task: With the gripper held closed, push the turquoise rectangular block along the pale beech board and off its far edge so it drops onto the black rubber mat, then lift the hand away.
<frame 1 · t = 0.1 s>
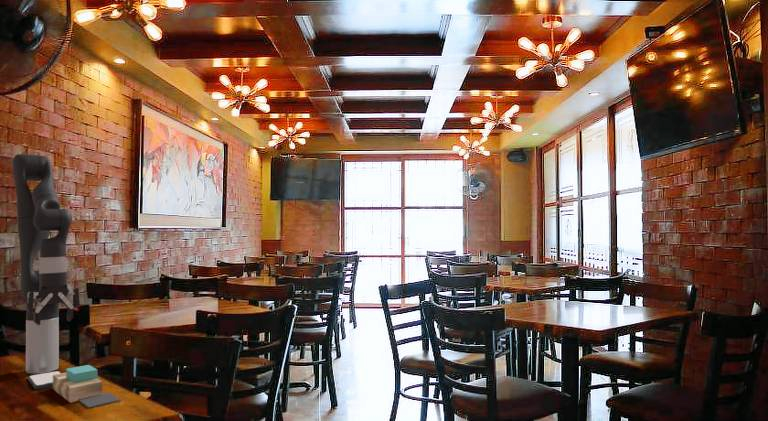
hand: (53, 322, 168), 17 cm above the table, tool pointing down, fingers open, 8 cm apart
turquoise rectangular block: (81, 378, 153), point 4 cm above the table, touching board
mat: (99, 400, 145), on the table
board: (76, 392, 153), on the table
phone case: (47, 383, 164), on the table
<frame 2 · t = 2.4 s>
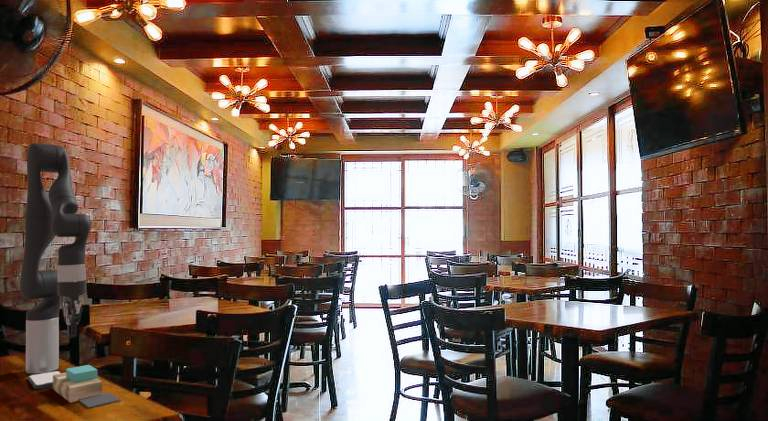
hand: (72, 337, 160), 14 cm above the table, tool pointing down, fingers closed
nothing on the table moved.
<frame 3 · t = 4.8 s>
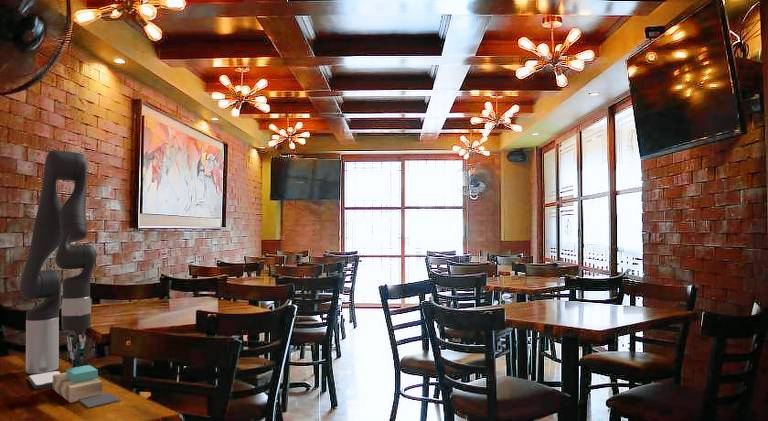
hand: (76, 371, 157), 5 cm above the table, tool pointing down, fingers closed
turquoise rectangular block: (81, 378, 153), point 4 cm above the table, touching board, gripper
everything else where it was.
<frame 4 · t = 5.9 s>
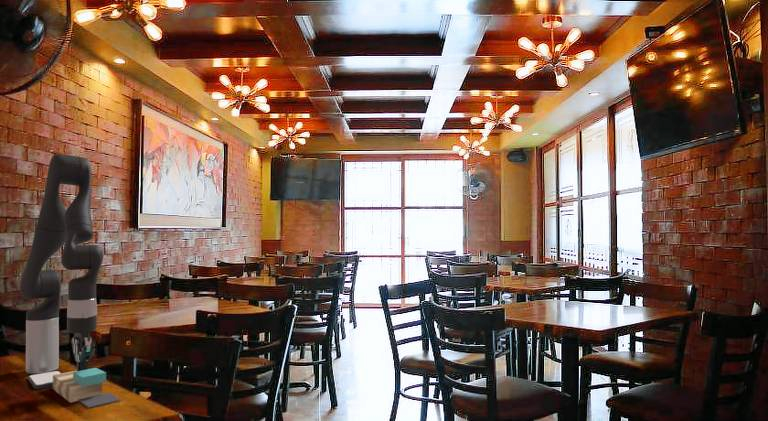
hand: (81, 374, 153), 5 cm above the table, tool pointing down, fingers closed
turquoise rectangular block: (89, 381, 149), point 4 cm above the table, touching board, gripper
everything else where it was.
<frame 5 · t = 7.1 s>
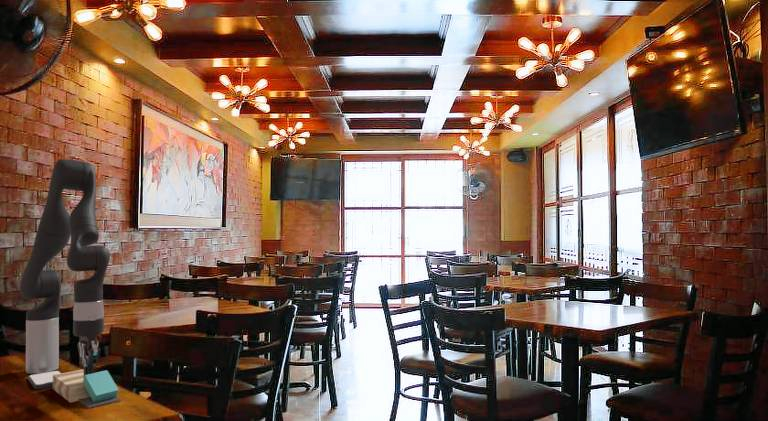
hand: (88, 379, 148), 5 cm above the table, tool pointing down, fingers closed
turquoise rectangular block: (99, 389, 147), point 3 cm above the table, tilted 33°, touching gripper, mat
everything else where it was.
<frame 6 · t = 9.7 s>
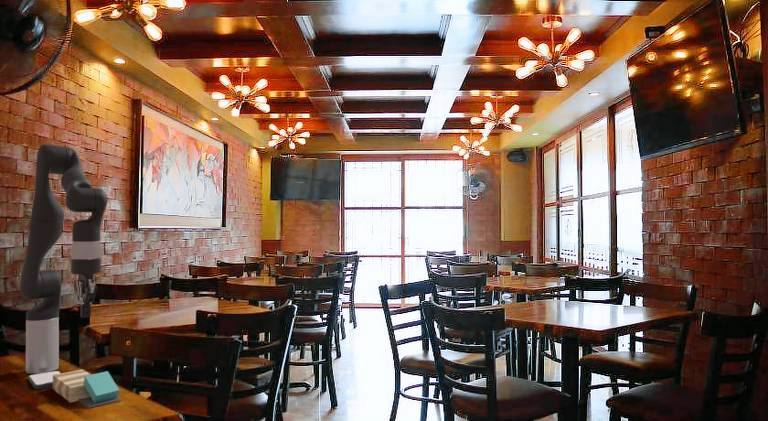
hand: (85, 317, 153), 22 cm above the table, tool pointing down, fingers closed
turquoise rectangular block: (100, 390, 146), point 2 cm above the table, tilted 30°, touching board, mat
everything else where it was.
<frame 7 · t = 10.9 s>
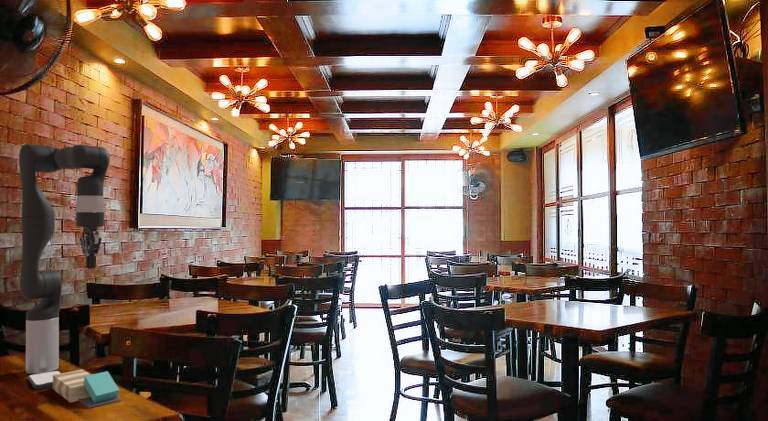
hand: (90, 268, 161), 35 cm above the table, tool pointing down, fingers closed
nothing on the table moved.
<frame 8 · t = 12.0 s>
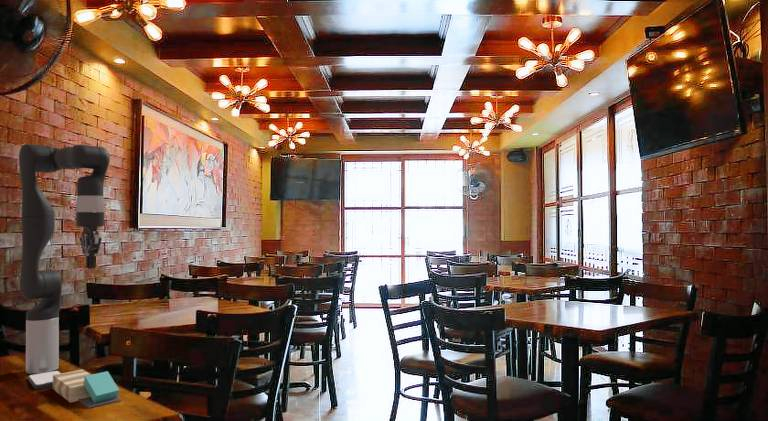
hand: (90, 268, 161), 35 cm above the table, tool pointing down, fingers closed
nothing on the table moved.
at the end: turquoise rectangular block point 2.4 cm above the table; turquoise rectangular block inside the target area on the mat (1.8 cm from its centre), point 2.4 cm above the mat's base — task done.
